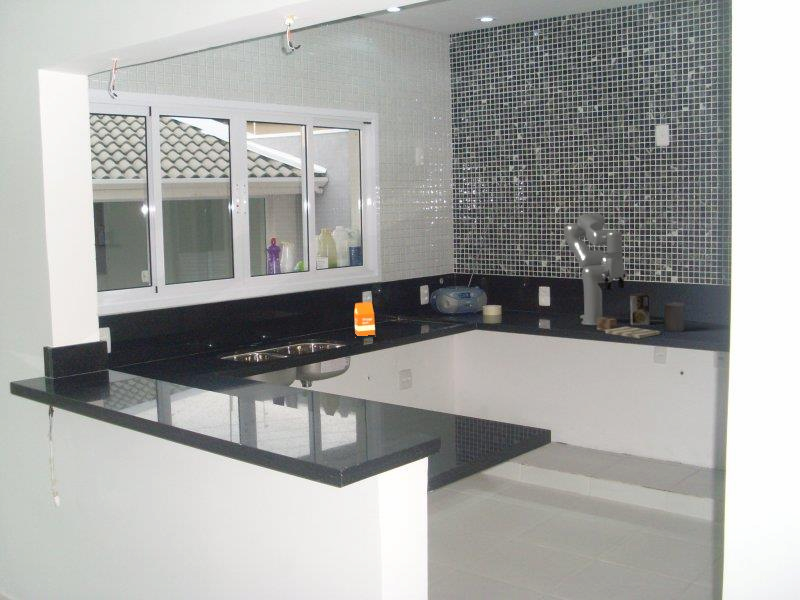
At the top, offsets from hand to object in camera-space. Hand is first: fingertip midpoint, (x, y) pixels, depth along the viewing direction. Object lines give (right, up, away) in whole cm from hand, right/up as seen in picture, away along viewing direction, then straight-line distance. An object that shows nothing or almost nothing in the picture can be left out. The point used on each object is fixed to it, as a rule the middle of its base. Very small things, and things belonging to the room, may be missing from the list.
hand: (614, 288), depth 446 cm
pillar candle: (+29, -21, -5) cm, 36 cm away
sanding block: (-3, -21, +5) cm, 22 cm away
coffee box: (+18, -19, +17) cm, 31 cm away
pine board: (+7, -23, -9) cm, 25 cm away
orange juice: (-128, -27, +6) cm, 131 cm away
